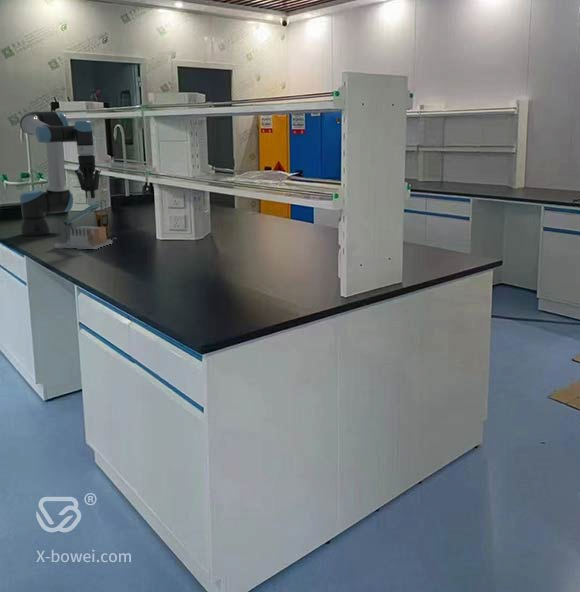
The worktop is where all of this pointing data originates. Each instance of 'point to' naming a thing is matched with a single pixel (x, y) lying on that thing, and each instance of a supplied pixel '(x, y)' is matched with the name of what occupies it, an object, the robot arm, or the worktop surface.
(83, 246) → the heatsink base
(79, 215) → the lever
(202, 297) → the worktop surface
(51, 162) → the robot arm
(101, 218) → the multimeter
